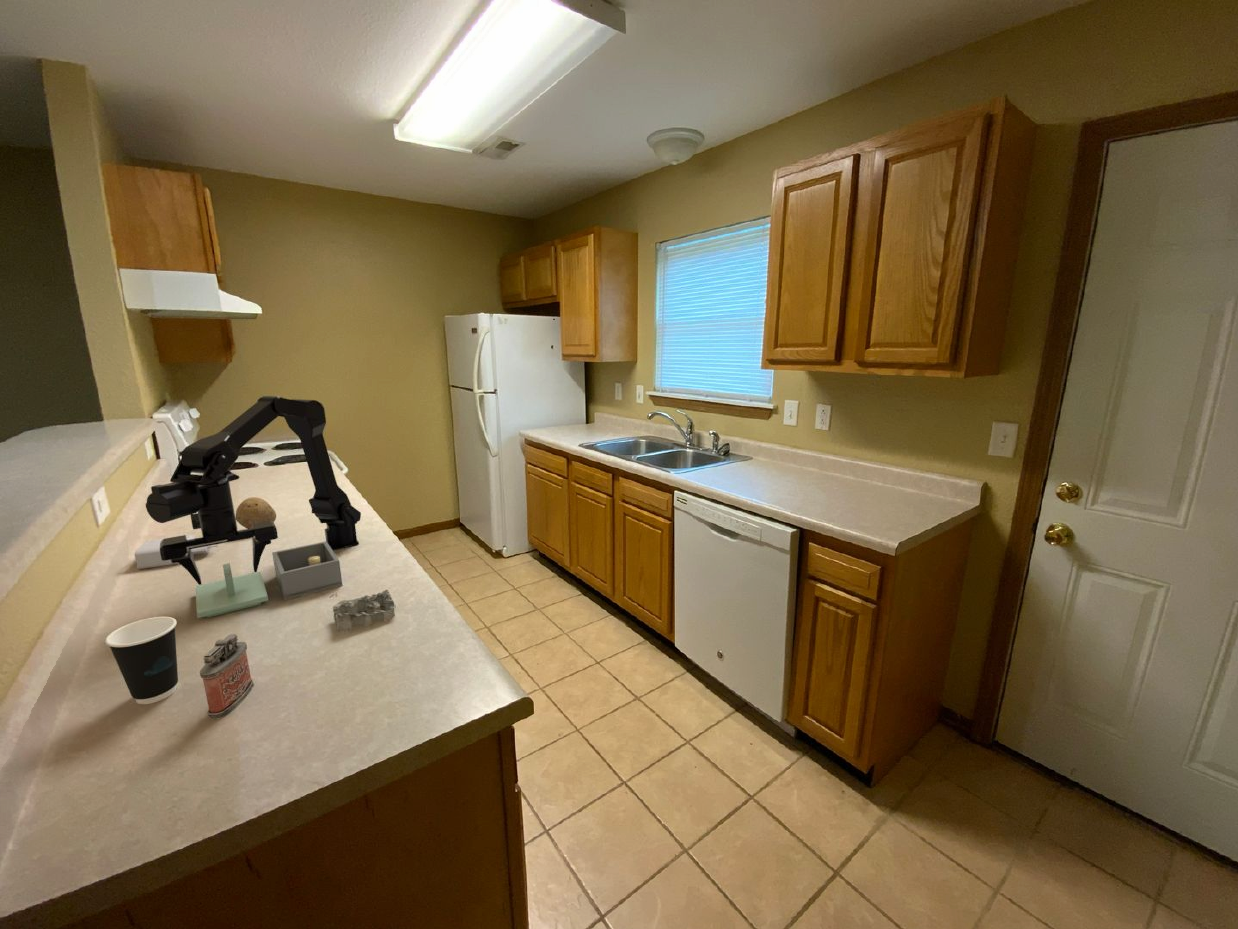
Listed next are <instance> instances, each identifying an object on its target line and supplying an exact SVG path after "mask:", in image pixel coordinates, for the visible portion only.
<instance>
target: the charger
mask: <svg viewBox="0 0 1238 929" xmlns="http://www.w3.org/2000/svg"><path fill="white" fill-rule="evenodd" d="M166 538H167V537H165V538H164V537H163V538H158V539H148V540H145V541H144V542H143V543H142V544H141V545H140V546H139V547H138V548H137V549H136V550H135V553H134V560H135V564H136V567H137V569H138V570H143V569H152V568H157V567H165V566H166V567H167V566H173V565H178V564H179V563H178V562H177V563H172V562H171V560H166V561H164V560H162V559H161V554H160V542H161V541H162V540H163V539H166ZM186 538H187V540H190V539H196V538H197V537H196V536H195V535H193V534H192V535H191V534H190V535H186ZM215 547H216V548H217V547H219V544H216V545H210V546H205V547H200V548H194V549H191V552H192V555H193V557H194V556H195V555H196V554H202V553H203V554H204V553H209V552H210V551H211V549H212V548H215ZM179 565H180V564H179Z"/></svg>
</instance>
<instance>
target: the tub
mask: <svg viewBox="0 0 1238 929" xmlns="http://www.w3.org/2000/svg"><path fill="white" fill-rule="evenodd" d="M271 553H272V561H273V565H274V566H273V567H274V574H275V578H276V581H277V584H278V586H279V588H280V591H281V595H282V597H283V599H284V601H287V600H290V599H294V598H297V597H298V598H299V597H302V596H306V595H310V594H314V593H318V592H322V591H325V590H326V591H327V590H331V589H333V588H338V587H341V586H343V579H342V570H341V565H340V564H341V562H340V560H339V558H338V556H337V555H336V553H335V552H334V550H332V549H331V547H330V546H329V544H328V543H327V541H326V540H325V541H322V542H317V543H316V542H315V543H311V544H307V545H302V546H297V547H292V548H286V549H282V550H278V551H273V552H271Z"/></svg>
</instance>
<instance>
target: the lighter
mask: <svg viewBox="0 0 1238 929" xmlns="http://www.w3.org/2000/svg"><path fill="white" fill-rule="evenodd" d="M247 648H248V645H247V642H245V641H239V640H238V635H237V633H231V634H228V635H227V636H226V637H224V638H223V639H217V641H215V643H214V646H213V647H212V648H210V649H209V650H208V652H206V653H205V654H204V656H203V657H202V658H203V661H204V665H203V667H201V669H200V670H199V676H200V678H201V679H202V682H203V687H204V691H205V697H206V701H207V706H208V710H207V714H208V718H209V719H210V720H219V719H222V718H224V717H226V716H228V715H229V714H230V713H232V711H234V710H236V708H237V707H239V706H240V705H241V704H242V703H243V702H244V701H245V699H246V698H247V697H248V696H249V694H250V693H251V692H252V690H253V688H254V687H255V686H254V685H255V684H254V680H253V679H252V677H251V670H250V664H249V660H248V654H247Z"/></svg>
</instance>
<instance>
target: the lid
mask: <svg viewBox="0 0 1238 929" xmlns="http://www.w3.org/2000/svg"><path fill="white" fill-rule="evenodd" d="M222 568H223V576H224V579H221V580H216V581H212V582H207V583H204V584H202V583H201V585H199V584H198V585H196V586H195V600H196V601H195V602H196V604H195V605H196V616H197V619H200V618H204V617H206V618H212V617H216V616H220V615H224V614H228V613H232V612H237V611H239V610H240V611H241V610H243V609H248V608H251V607H255V606H259V605H260V606H261V605H262V603H263V602H267V601H269V597H268V593H267V589H266V585H265V583H264V579H263V576H262V573H261V571H257V572H252V573H249V574H248V573H247V574H244V575H240V576H235V577H233V573H232V568H231V563H224V564H222Z"/></svg>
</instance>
